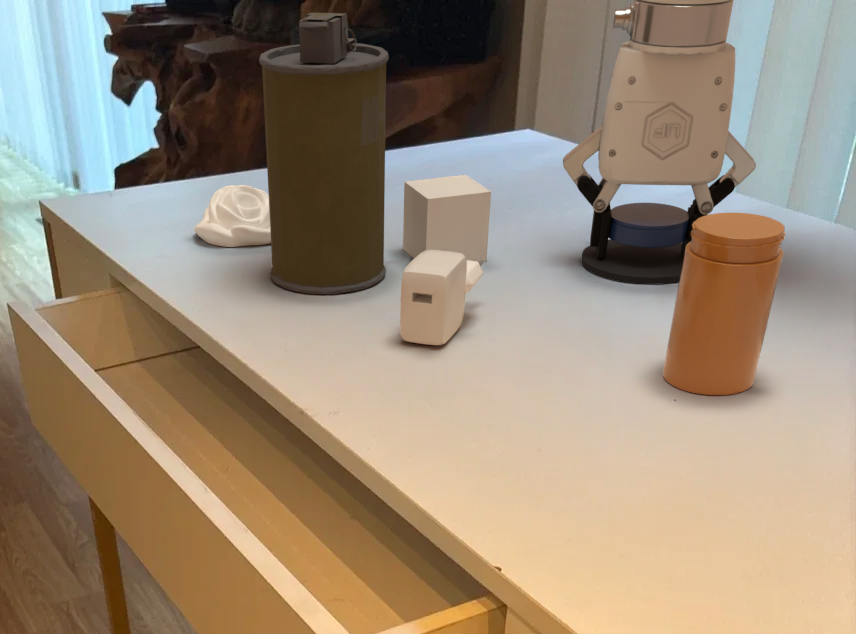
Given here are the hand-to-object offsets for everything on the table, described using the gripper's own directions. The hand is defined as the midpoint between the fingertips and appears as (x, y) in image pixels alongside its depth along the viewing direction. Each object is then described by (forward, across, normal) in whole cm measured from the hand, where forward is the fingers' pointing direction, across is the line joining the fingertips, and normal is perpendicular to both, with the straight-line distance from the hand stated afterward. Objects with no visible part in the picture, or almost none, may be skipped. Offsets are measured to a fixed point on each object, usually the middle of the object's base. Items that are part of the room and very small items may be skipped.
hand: (643, 254), depth 100 cm
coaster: (+1, 0, 0) cm, 1 cm away
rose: (+1, -38, +6) cm, 38 cm away
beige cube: (+1, -18, +1) cm, 18 cm away
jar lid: (-3, 0, 0) cm, 3 cm away
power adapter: (+1, -17, -16) cm, 23 cm away
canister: (+1, -28, -5) cm, 28 cm away
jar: (+1, +3, -25) cm, 25 cm away
